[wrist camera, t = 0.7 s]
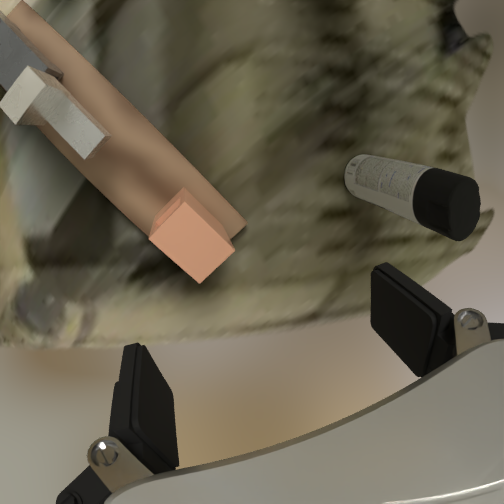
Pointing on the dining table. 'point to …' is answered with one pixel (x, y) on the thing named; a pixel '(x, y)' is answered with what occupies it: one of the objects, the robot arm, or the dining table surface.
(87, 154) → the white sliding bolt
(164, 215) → the socket
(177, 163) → the base board
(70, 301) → the dining table surface
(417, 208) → the spray can
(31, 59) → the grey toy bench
